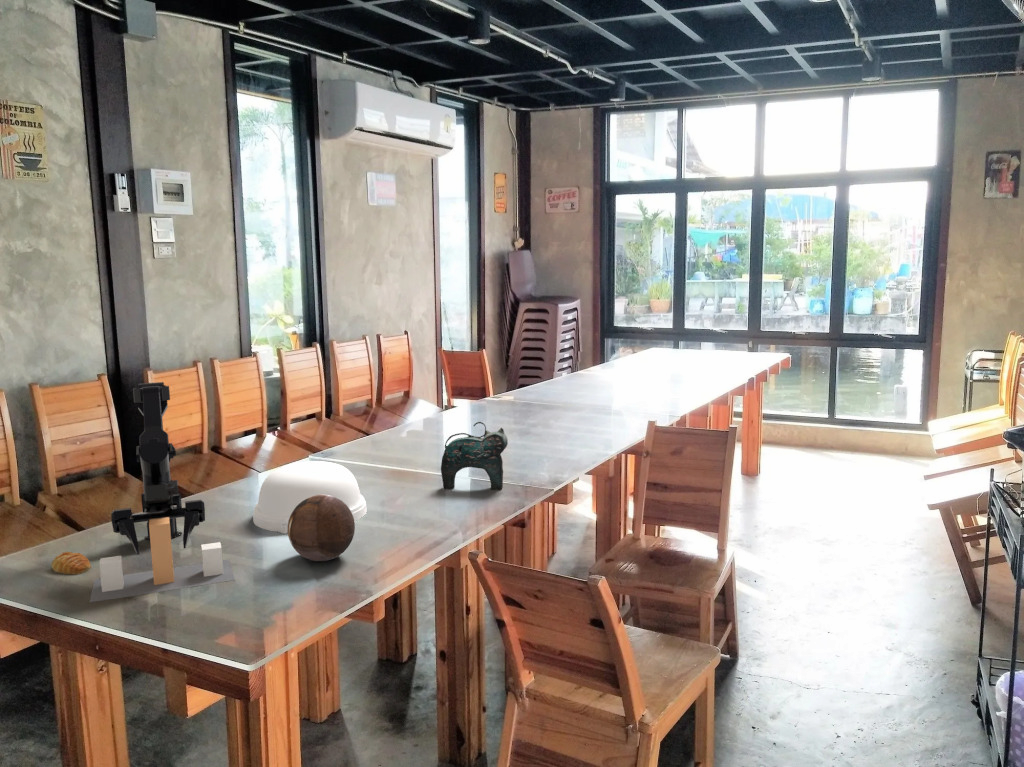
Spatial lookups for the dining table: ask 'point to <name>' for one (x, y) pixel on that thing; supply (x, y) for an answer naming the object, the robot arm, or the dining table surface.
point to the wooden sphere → (321, 527)
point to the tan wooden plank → (161, 550)
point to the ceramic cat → (475, 456)
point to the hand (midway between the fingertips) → (161, 550)
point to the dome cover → (304, 492)
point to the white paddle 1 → (111, 573)
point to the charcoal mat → (145, 584)
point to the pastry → (71, 563)
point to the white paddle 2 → (212, 559)
